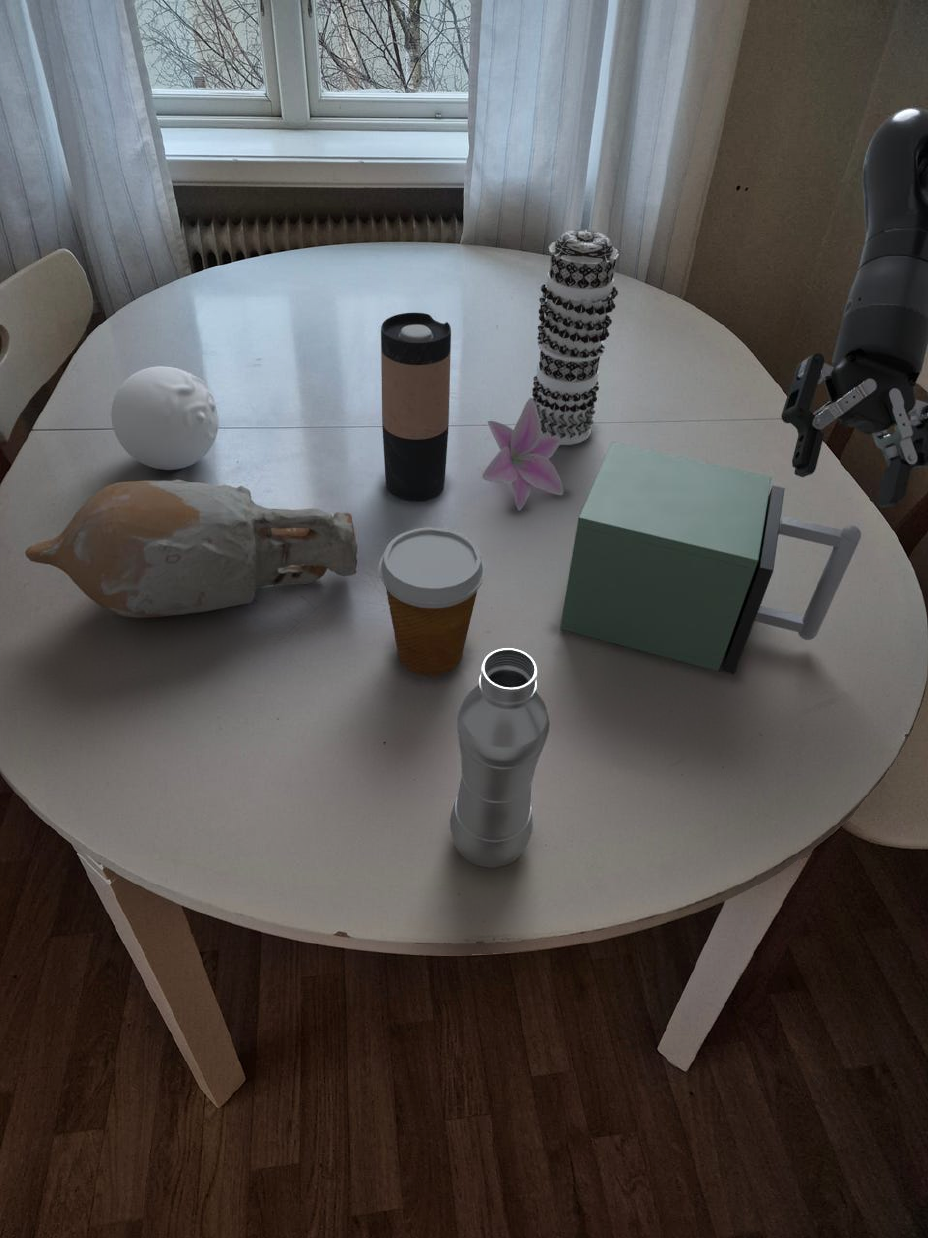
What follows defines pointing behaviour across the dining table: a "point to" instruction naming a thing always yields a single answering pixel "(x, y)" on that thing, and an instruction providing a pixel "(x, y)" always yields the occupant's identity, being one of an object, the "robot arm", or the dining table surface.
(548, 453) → the lily
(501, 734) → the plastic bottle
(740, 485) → the green drawer cabinet
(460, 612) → the disposable coffee cup
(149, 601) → the amphora
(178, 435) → the decorative ball
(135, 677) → the dining table surface
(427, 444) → the travel mug
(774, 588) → the dining table surface
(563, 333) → the black and white cylinder
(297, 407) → the dining table surface
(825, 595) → the black drawer with handle
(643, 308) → the dining table surface
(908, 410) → the robot arm
